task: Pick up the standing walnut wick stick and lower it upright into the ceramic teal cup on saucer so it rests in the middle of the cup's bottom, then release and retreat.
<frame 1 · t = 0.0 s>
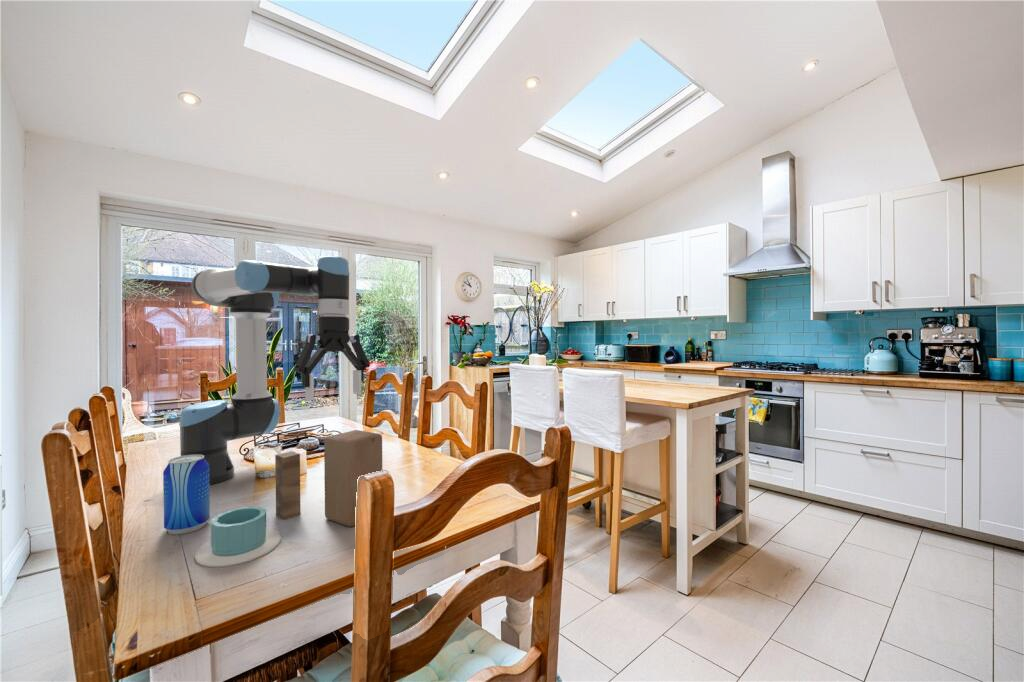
hand: (334, 396, 112), 28 cm above the table, fingers open, 13 cm apart
wooden block: (354, 517, 104), on the table
teal cup on saucer: (239, 547, 89), on the table
wick stick: (288, 514, 105), on the table
beer can: (187, 528, 98), on the table
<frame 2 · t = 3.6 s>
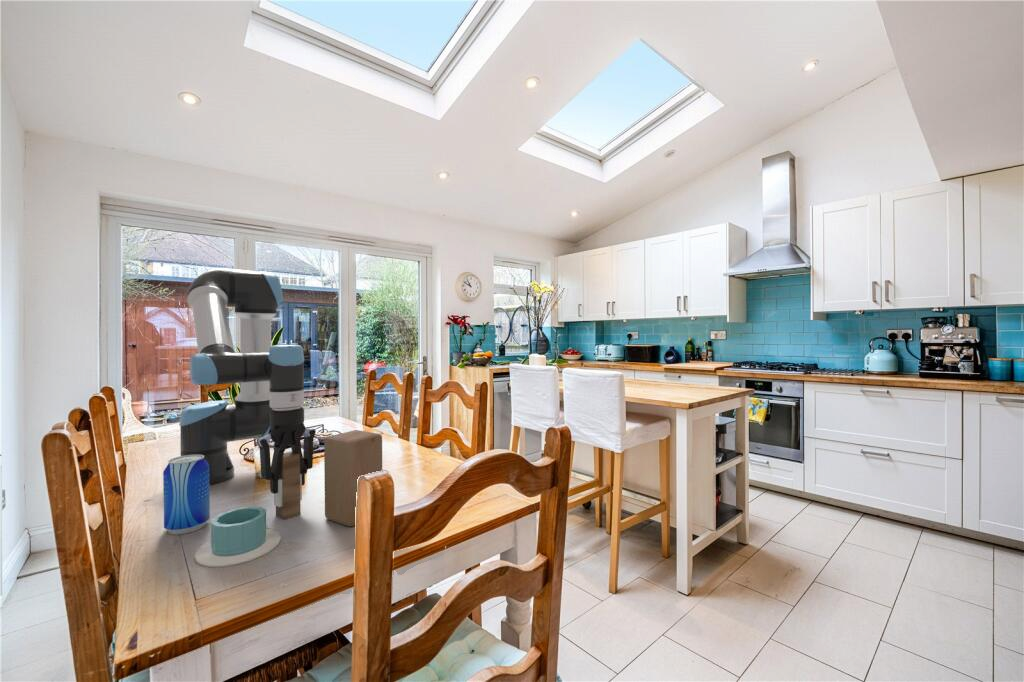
hand: (288, 502, 105), 3 cm above the table, fingers closed on wick stick, 4 cm apart
wick stick: (288, 514, 105), on the table, touching gripper
everything else where it was.
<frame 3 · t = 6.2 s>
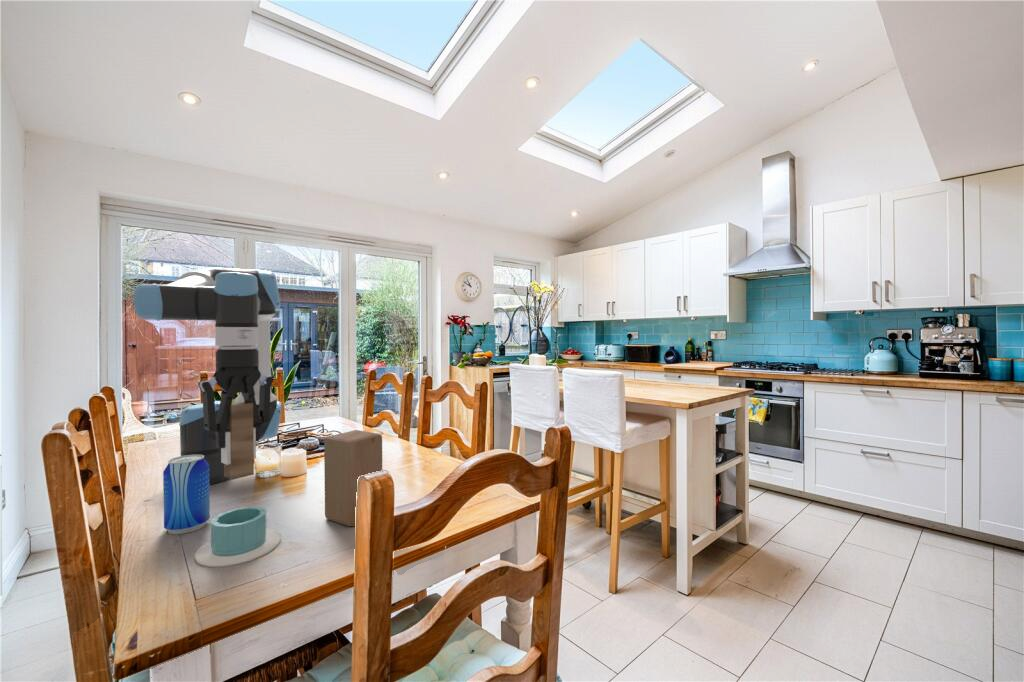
hand: (238, 460, 89), 18 cm above the table, fingers closed on wick stick, 4 cm apart
wick stick: (239, 475, 89), point 15 cm above the table, touching gripper
everything else where it was.
when the fingers open (8 cm above the table, at t = 8.7 s): wick stick drops 2 cm, resting on teal cup on saucer.
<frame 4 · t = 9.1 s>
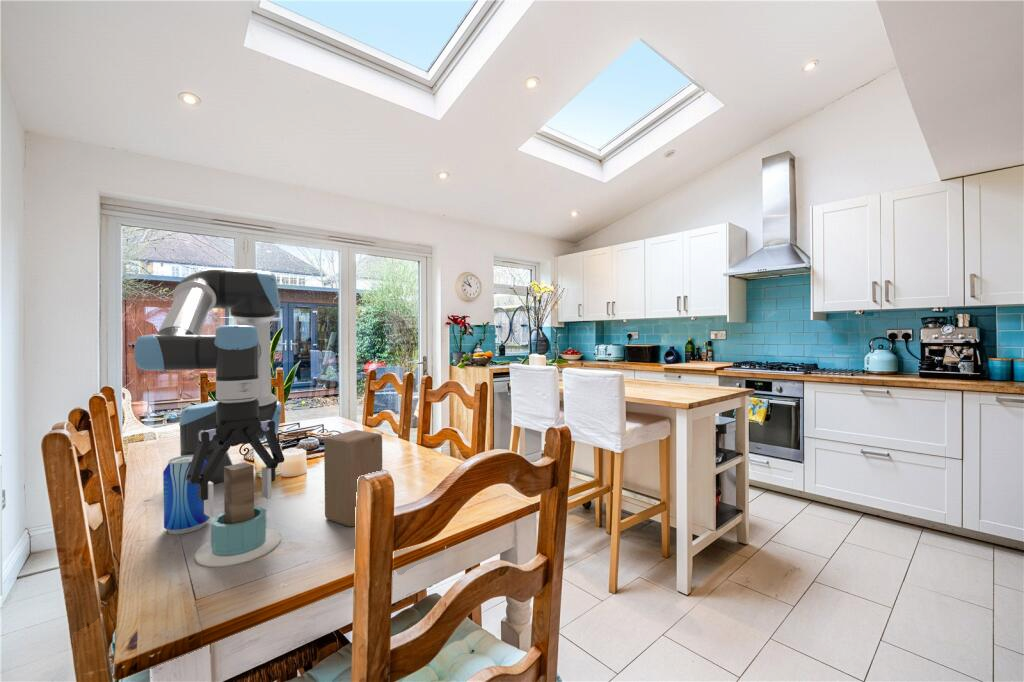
hand: (239, 505, 89), 9 cm above the table, fingers open, 10 cm apart
wick stick: (239, 537, 89), point 2 cm above the table, touching teal cup on saucer
everything else where it was.
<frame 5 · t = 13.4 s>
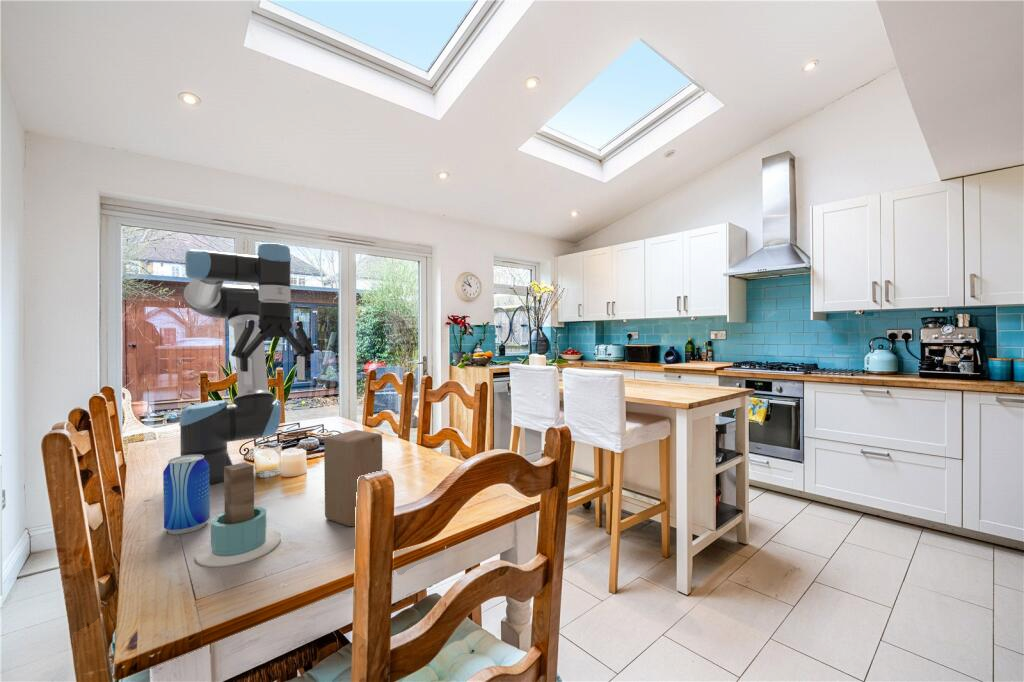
hand: (275, 382, 114), 32 cm above the table, fingers open, 13 cm apart
nothing on the table moved.
at the end: wick stick 0.0 cm off-centre on the teal cup on saucer, point 2.1 cm above the teal cup on saucer's base; wick stick tilted 0°; the gripper is holding nothing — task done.
